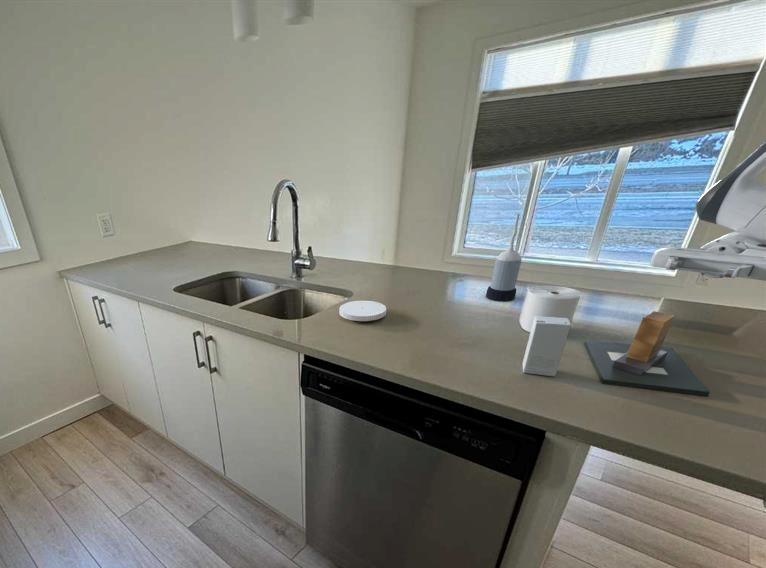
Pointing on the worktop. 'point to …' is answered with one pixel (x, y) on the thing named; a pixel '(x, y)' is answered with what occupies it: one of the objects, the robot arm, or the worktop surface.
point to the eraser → (646, 344)
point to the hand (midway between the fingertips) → (699, 269)
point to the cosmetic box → (546, 345)
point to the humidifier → (505, 272)
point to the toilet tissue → (548, 304)
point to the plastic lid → (362, 310)
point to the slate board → (661, 377)
